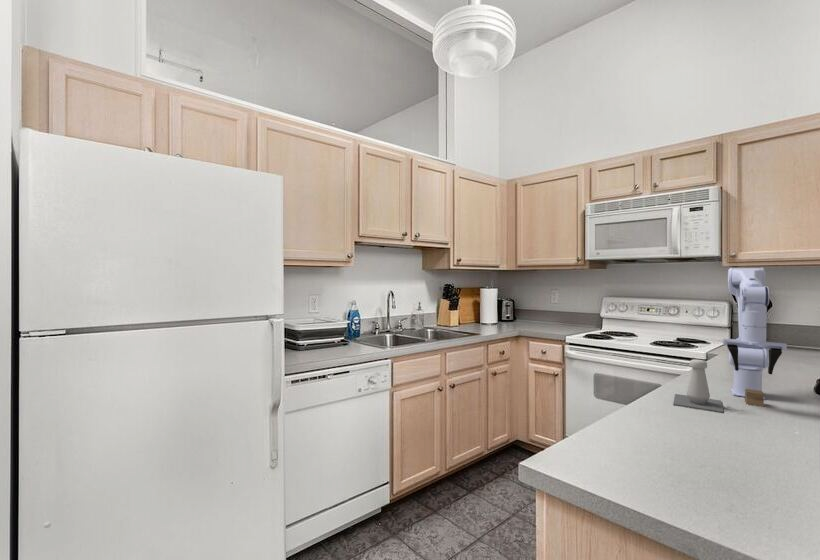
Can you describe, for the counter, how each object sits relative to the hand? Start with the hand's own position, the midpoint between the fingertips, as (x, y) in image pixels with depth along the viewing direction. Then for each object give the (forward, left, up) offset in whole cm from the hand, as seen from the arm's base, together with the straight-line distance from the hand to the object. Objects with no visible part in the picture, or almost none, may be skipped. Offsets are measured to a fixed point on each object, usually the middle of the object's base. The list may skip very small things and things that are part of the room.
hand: (753, 371), depth 122 cm
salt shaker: (+7, -13, -10) cm, 18 cm away
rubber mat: (+6, -14, -10) cm, 18 cm away
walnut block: (-4, +1, -11) cm, 11 cm away
